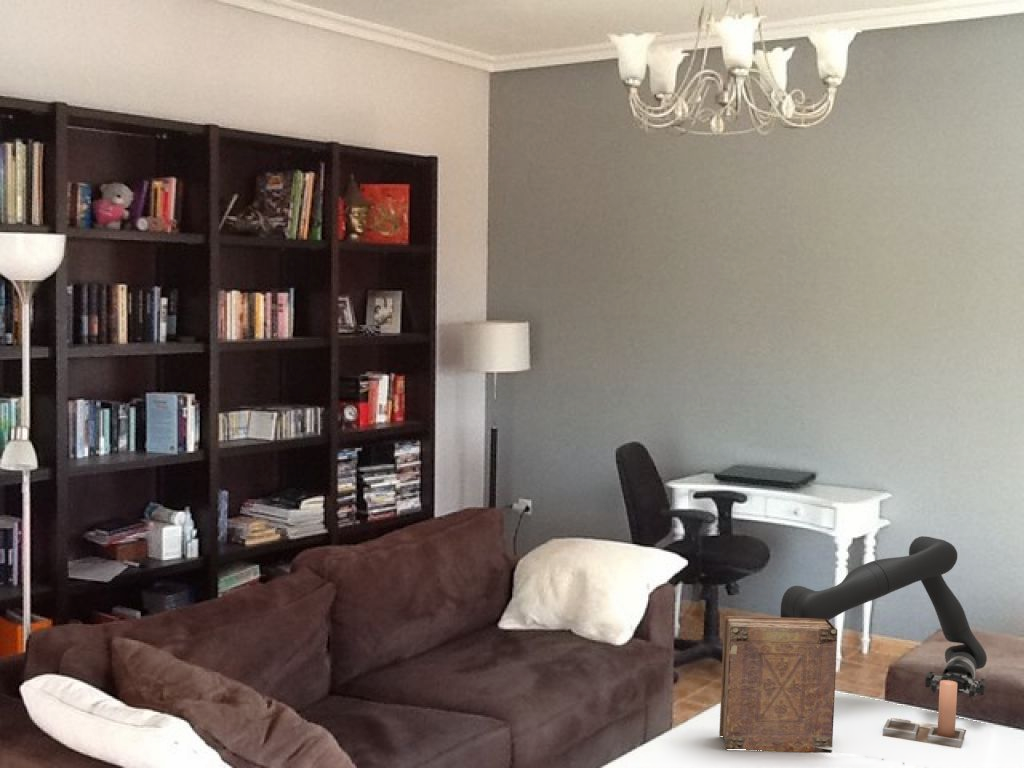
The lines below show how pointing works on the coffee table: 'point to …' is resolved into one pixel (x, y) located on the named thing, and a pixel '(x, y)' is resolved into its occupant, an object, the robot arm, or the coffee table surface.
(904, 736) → the walnut socket board
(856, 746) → the coffee table surface
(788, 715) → the book
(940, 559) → the robot arm
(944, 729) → the terracotta pin
